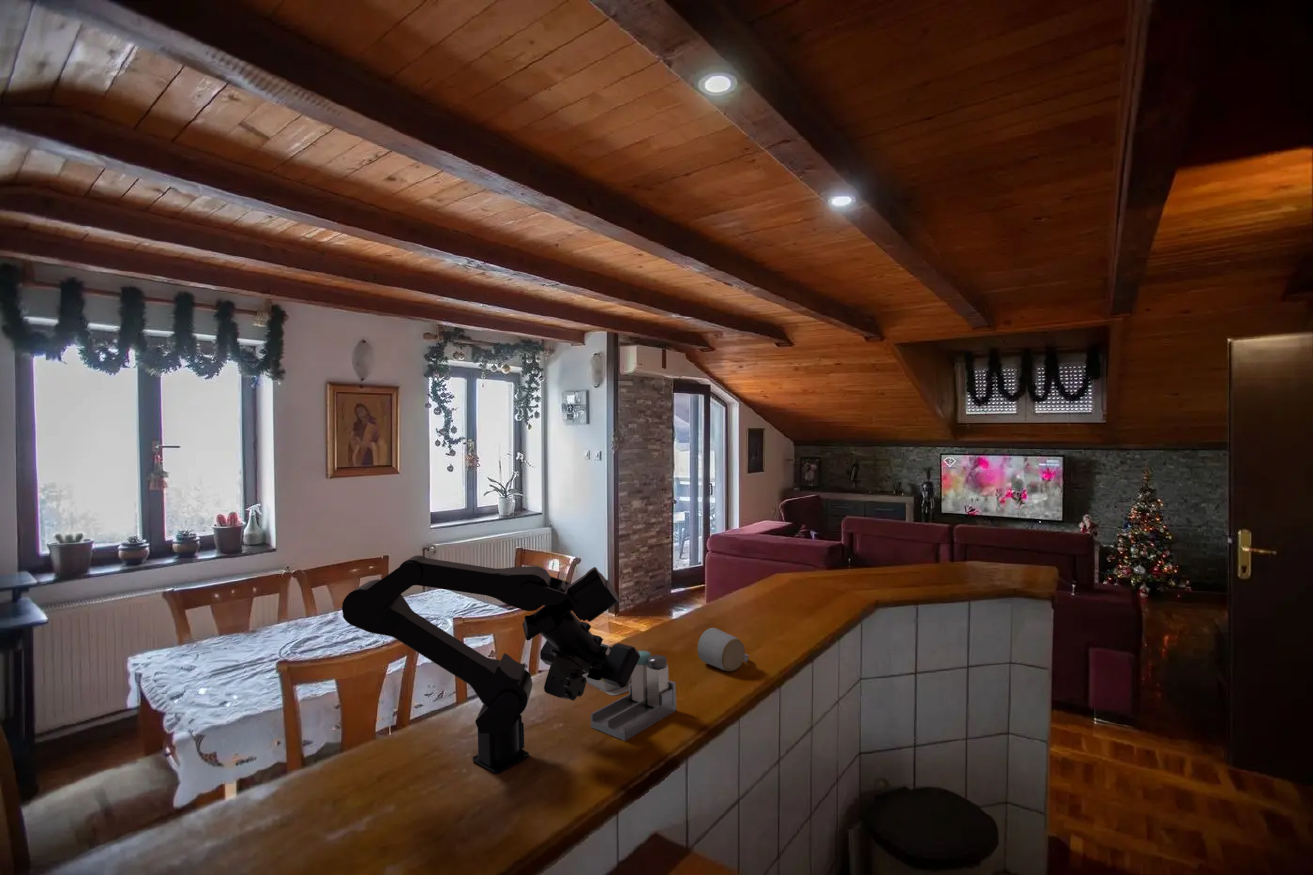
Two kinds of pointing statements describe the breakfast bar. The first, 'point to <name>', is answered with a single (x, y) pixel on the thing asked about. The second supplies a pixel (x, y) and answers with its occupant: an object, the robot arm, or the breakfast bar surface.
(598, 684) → the emergency button
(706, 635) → the ceramic mug
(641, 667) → the plunger
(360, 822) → the breakfast bar surface
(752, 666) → the breakfast bar surface
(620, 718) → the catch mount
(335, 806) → the breakfast bar surface
